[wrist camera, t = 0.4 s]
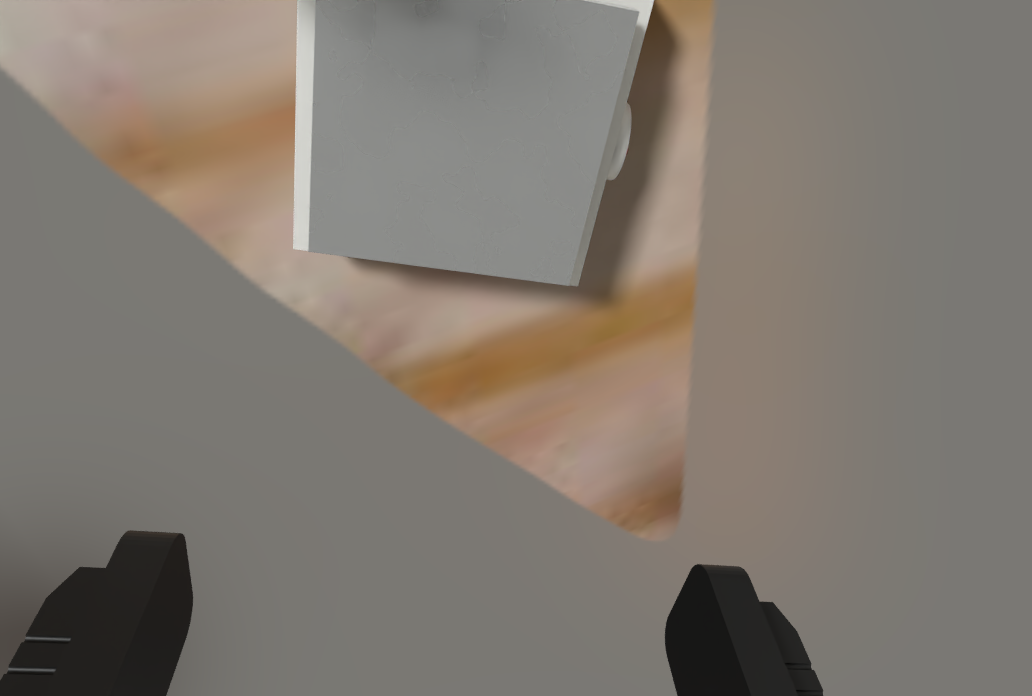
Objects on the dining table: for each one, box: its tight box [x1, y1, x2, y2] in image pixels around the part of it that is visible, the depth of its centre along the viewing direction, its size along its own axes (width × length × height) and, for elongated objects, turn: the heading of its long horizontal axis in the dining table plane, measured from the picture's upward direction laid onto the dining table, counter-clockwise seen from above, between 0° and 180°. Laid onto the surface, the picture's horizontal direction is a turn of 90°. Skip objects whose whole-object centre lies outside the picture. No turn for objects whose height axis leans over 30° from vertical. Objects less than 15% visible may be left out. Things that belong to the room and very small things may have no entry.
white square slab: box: [293, 0, 654, 286], centre depth 32 cm, size 14×15×4 cm
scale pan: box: [308, 0, 639, 286], centre depth 29 cm, size 12×12×1 cm
